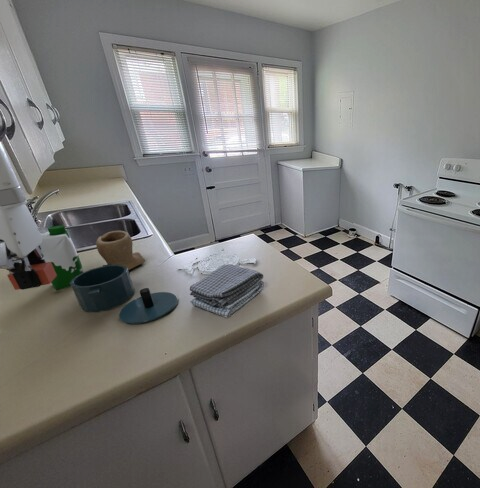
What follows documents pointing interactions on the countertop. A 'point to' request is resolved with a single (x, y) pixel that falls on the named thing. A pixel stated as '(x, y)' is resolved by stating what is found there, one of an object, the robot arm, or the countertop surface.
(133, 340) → the countertop surface
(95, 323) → the countertop surface
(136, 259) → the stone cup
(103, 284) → the pot
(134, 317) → the lid
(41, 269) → the red block
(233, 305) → the towel
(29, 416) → the countertop surface
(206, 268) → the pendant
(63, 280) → the milk carton
